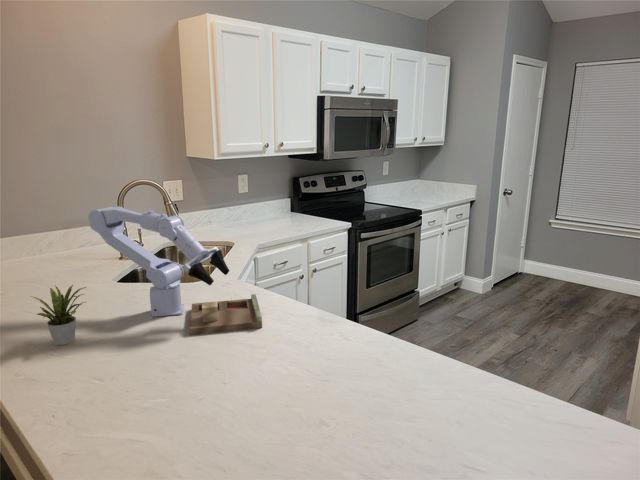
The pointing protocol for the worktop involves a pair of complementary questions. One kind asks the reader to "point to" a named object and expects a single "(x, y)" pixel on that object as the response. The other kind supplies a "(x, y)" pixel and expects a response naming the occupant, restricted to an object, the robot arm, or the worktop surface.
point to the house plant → (61, 316)
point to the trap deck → (227, 317)
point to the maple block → (209, 311)
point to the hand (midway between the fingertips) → (220, 278)
